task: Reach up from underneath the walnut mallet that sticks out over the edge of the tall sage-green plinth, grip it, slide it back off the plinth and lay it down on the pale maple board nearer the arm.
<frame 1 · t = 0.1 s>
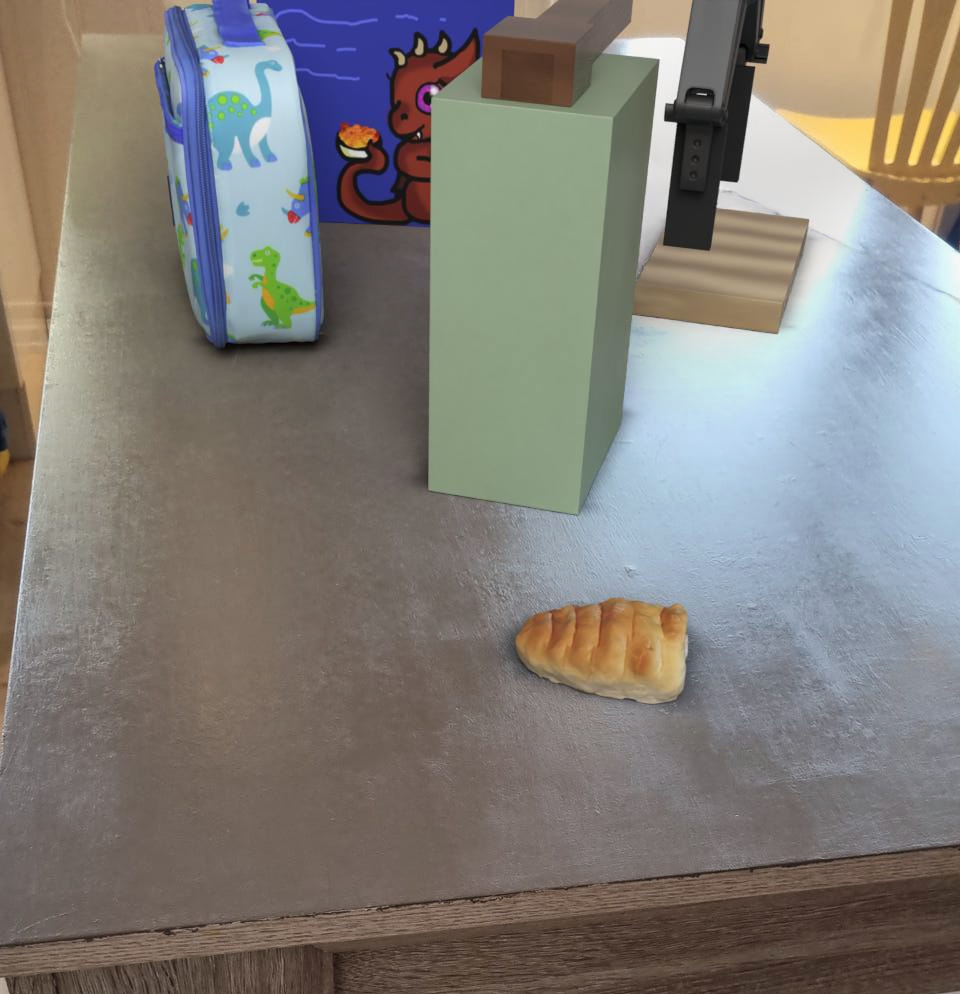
hand: (703, 211, 84), 16 cm above the table, tool pointing down, fingers open, 13 cm apart
walnut mallet: (571, 57, 81), point 23 cm above the table, touching plinth
lunch box: (249, 307, 112), on the table
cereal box: (390, 216, 130), on the table
maple board: (723, 278, 120), on the table
plinth: (528, 456, 93), on the table
pastry: (612, 673, 74), on the table
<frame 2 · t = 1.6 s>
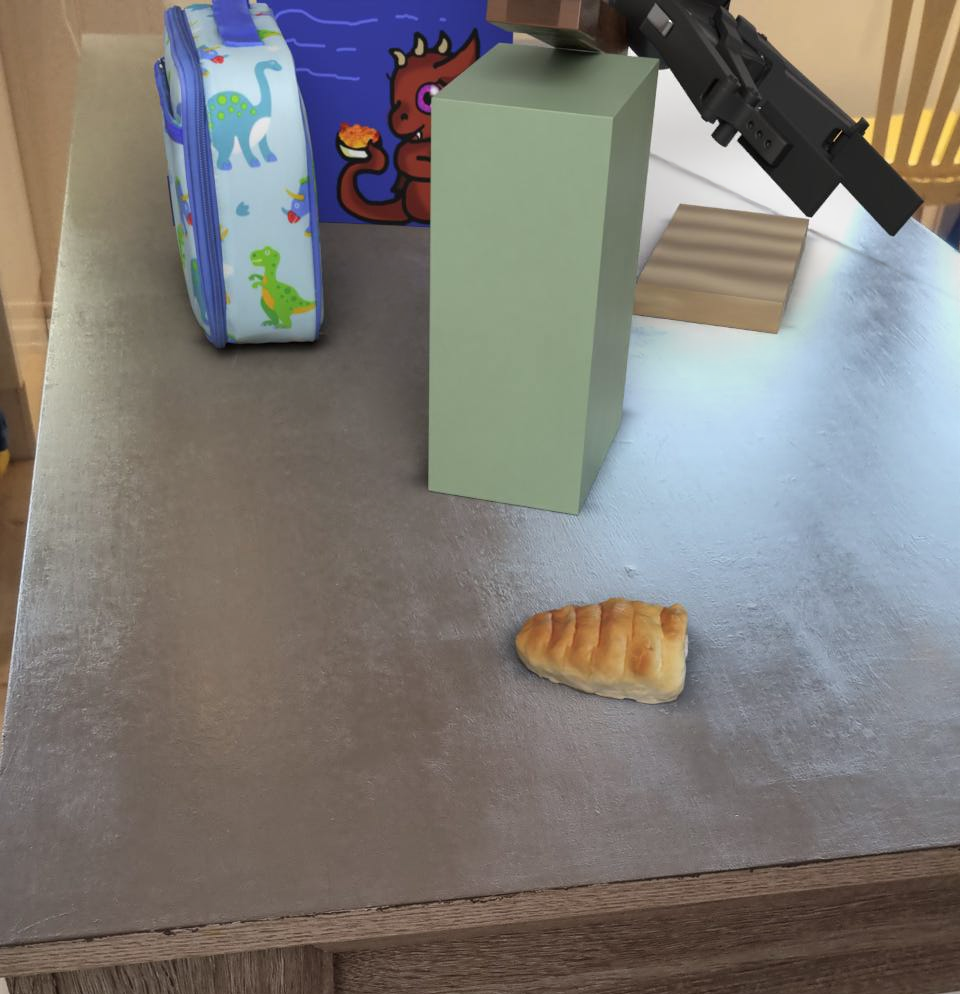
hand: (868, 209, 84), 16 cm above the table, tool tilted 65°, fingers open, 12 cm apart
walnut mallet: (572, 47, 81), point 24 cm above the table, tilted 16°, touching plinth
everything else where it was.
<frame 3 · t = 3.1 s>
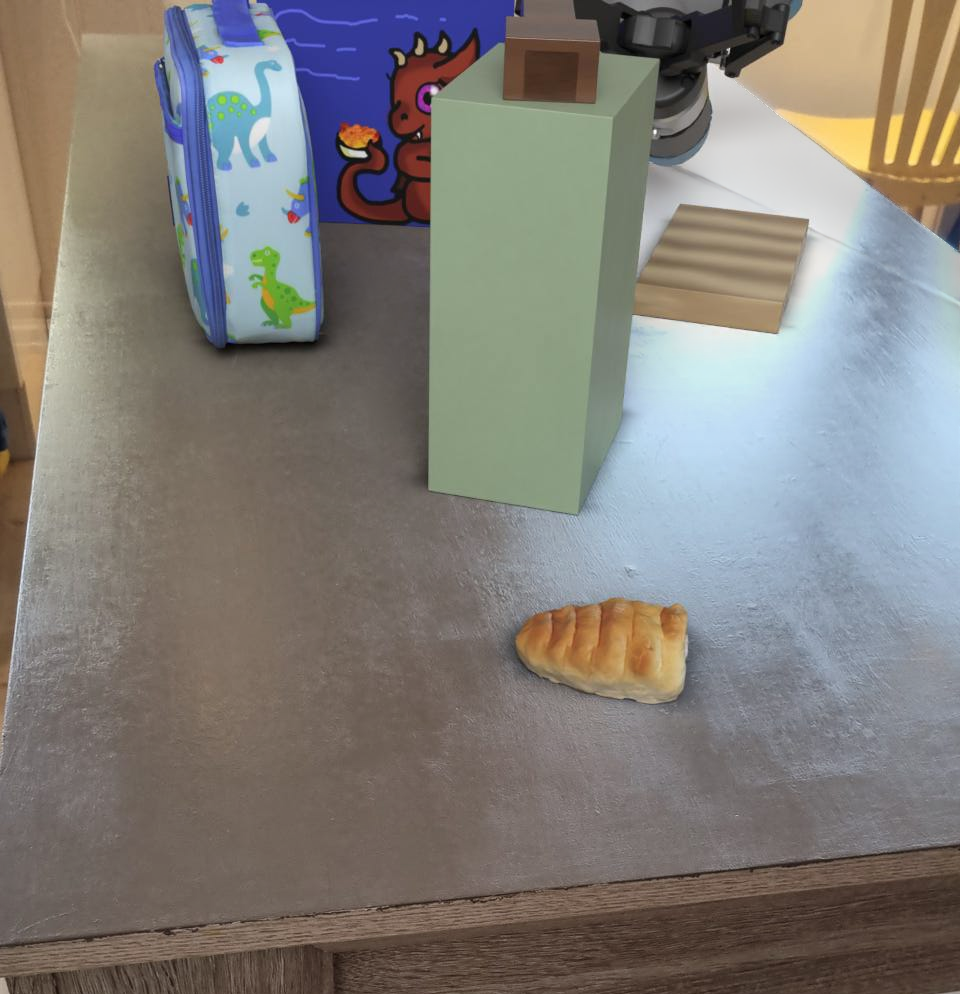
walnut mallet: (545, 53, 82), point 23 cm above the table, touching plinth
everything else where it was.
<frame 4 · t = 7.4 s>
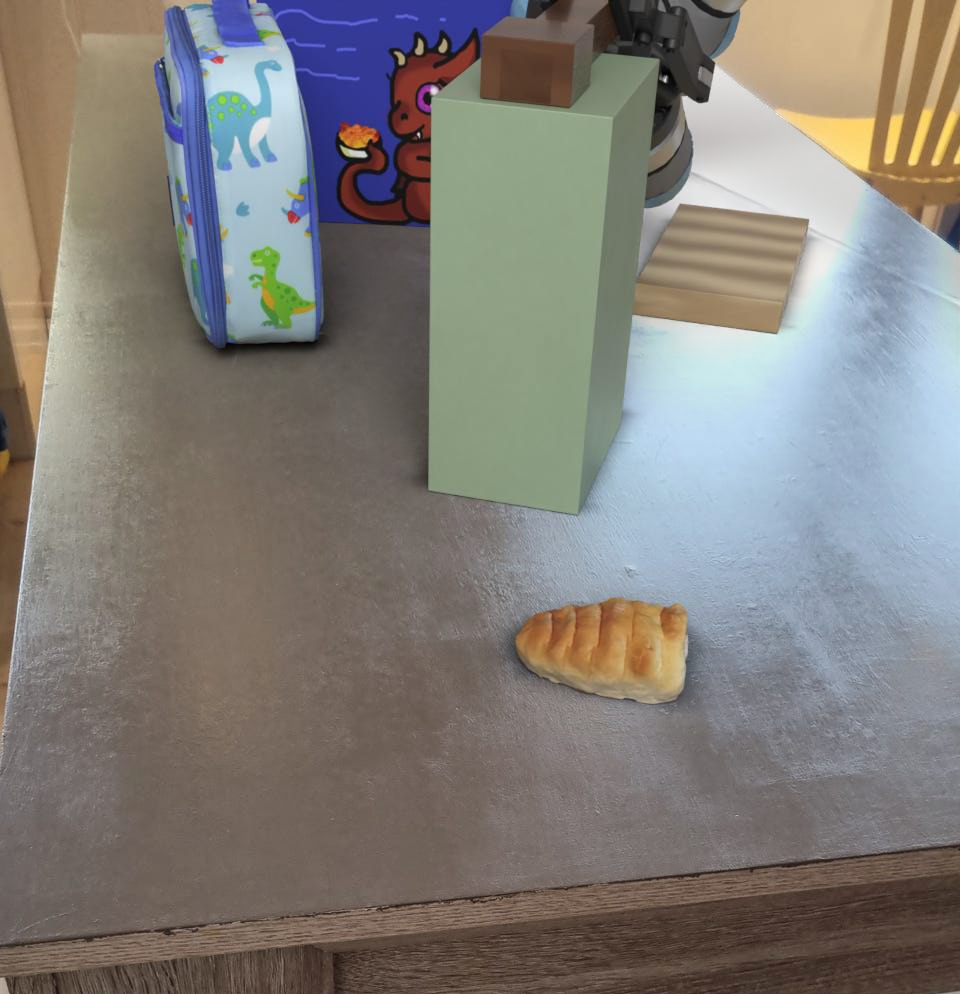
walnut mallet: (570, 58, 81), point 23 cm above the table, touching gripper, plinth
everything else where it was.
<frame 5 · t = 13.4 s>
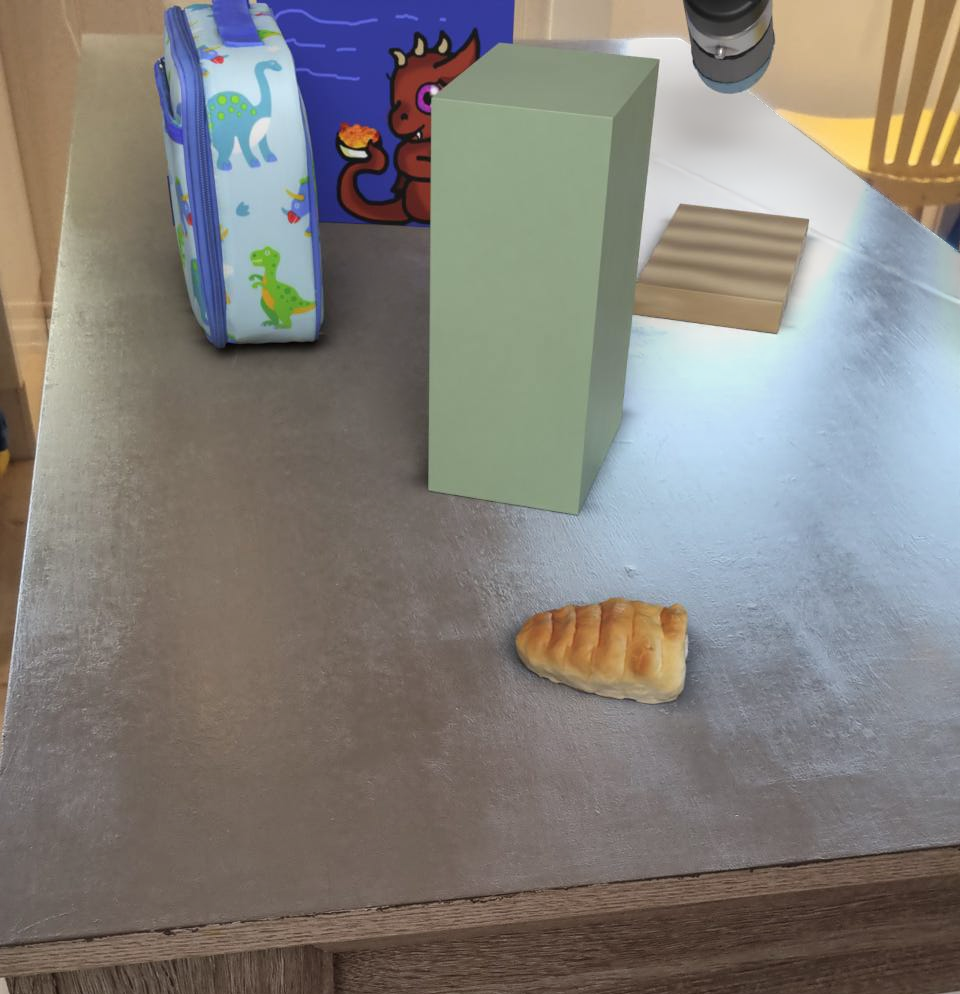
when the fingers open (8 cm above the table, at t = 19.5 s): walnut mallet drops 2 cm, resting on maple board.
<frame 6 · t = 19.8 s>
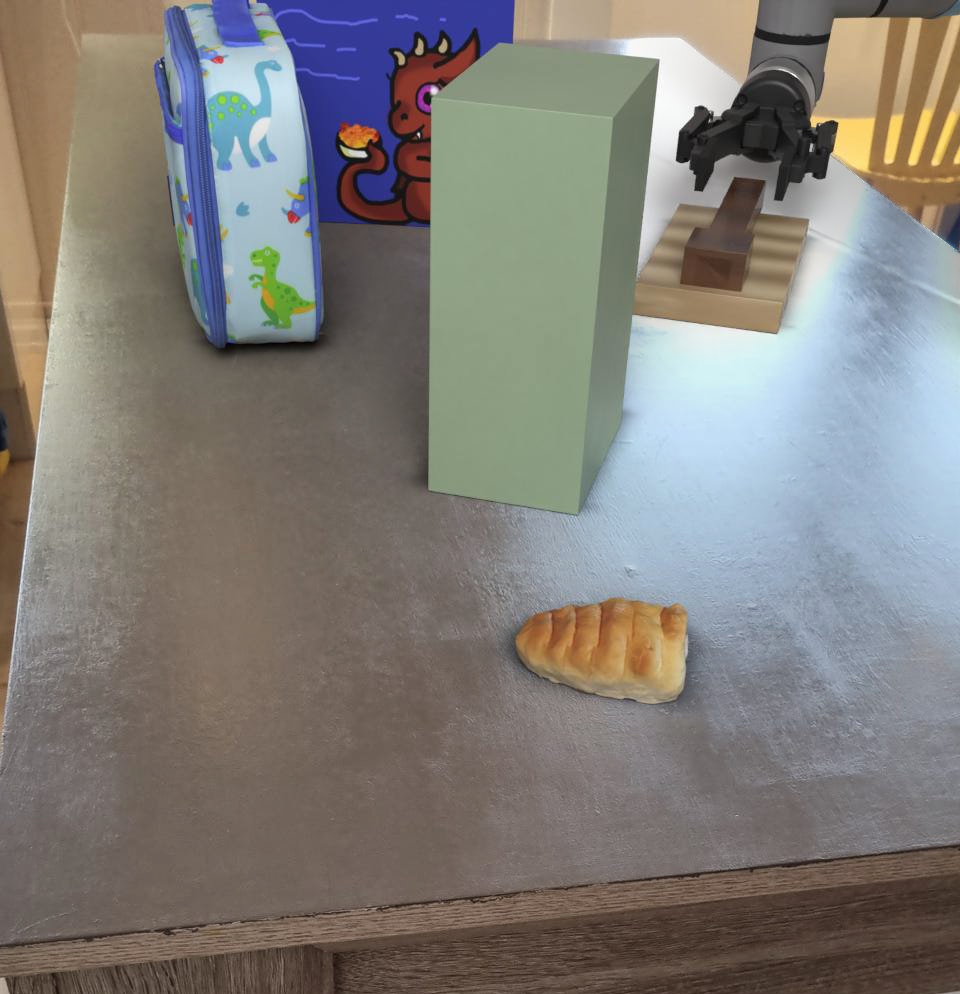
hand: (740, 179, 116), 7 cm above the table, tool horizontal, fingers open, 6 cm apart
walnut mallet: (729, 245, 119), point 2 cm above the table, touching maple board
everything else where it was.
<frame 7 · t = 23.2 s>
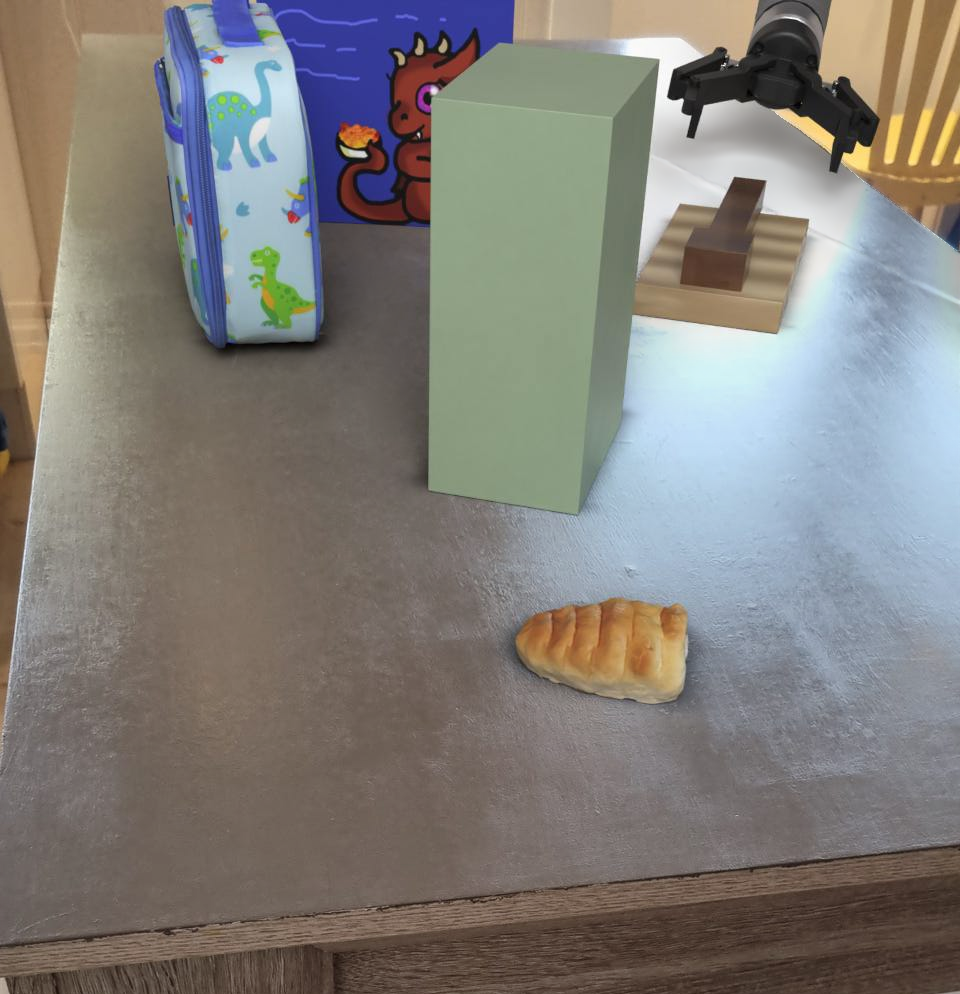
hand: (765, 140, 126), 7 cm above the table, tool horizontal, fingers open, 13 cm apart
nothing on the table moved.
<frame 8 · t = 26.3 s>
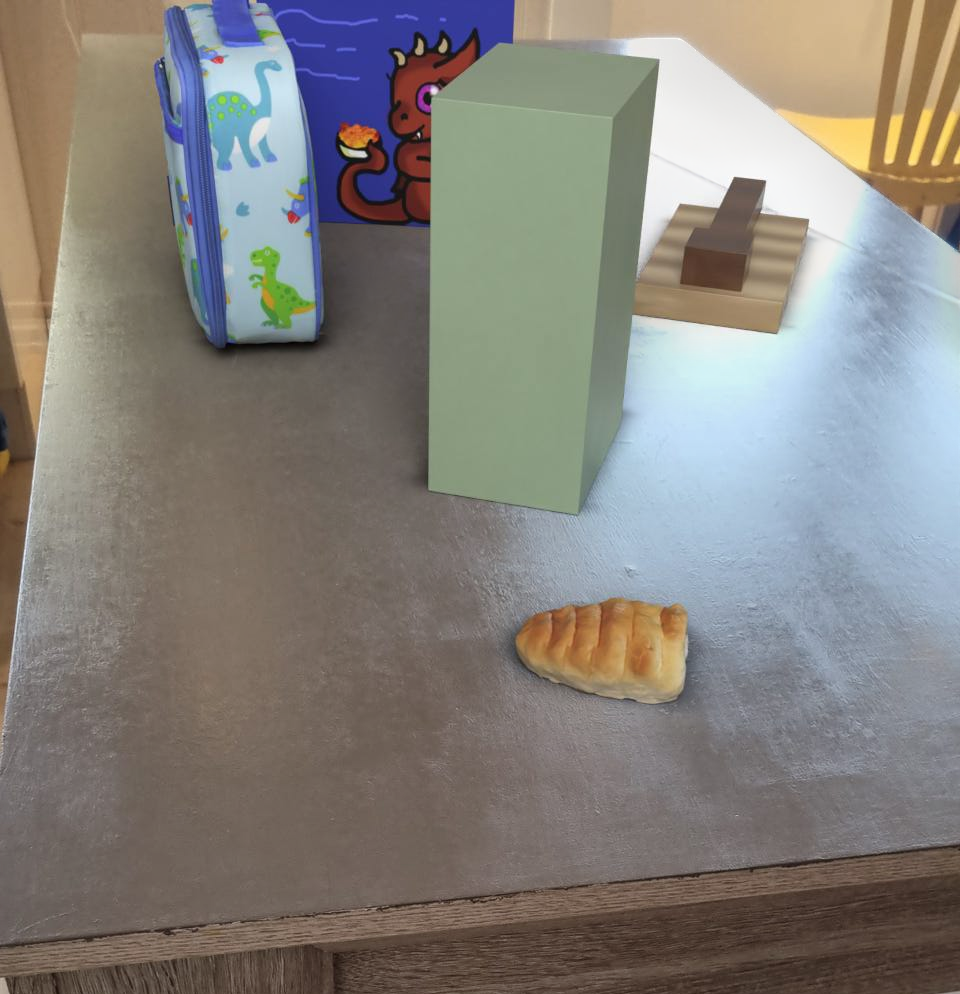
nothing on the table moved.
at the end: walnut mallet inside the target area on the maple board (1.1 cm from its centre), point 2.5 cm above the maple board's base; walnut mallet touching maple board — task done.
